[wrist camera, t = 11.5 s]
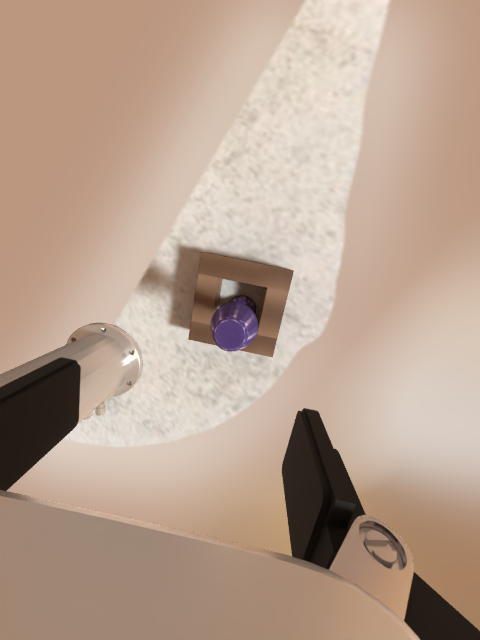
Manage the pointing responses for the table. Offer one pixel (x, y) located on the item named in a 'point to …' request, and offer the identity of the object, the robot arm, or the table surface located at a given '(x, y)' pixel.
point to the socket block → (245, 272)
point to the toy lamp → (235, 324)
